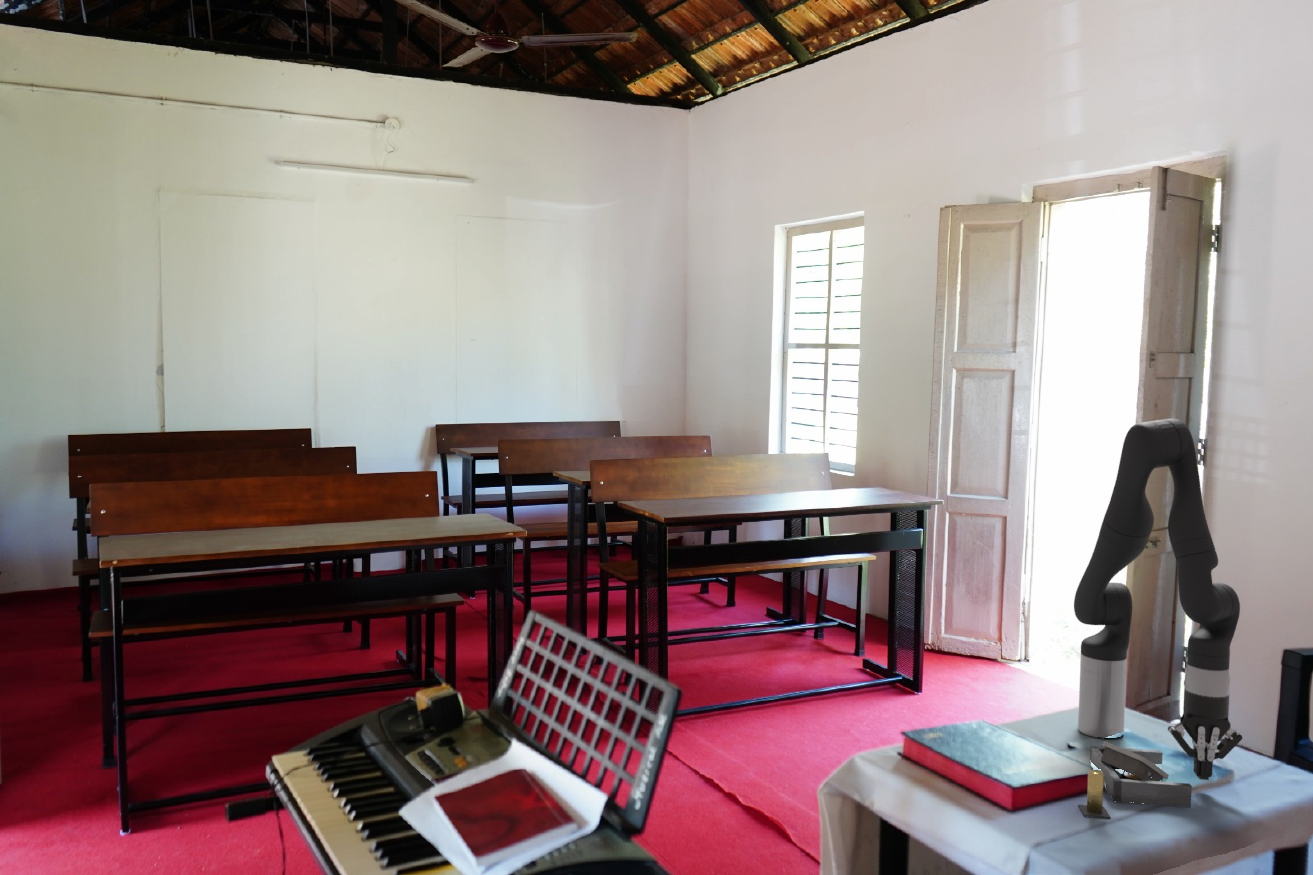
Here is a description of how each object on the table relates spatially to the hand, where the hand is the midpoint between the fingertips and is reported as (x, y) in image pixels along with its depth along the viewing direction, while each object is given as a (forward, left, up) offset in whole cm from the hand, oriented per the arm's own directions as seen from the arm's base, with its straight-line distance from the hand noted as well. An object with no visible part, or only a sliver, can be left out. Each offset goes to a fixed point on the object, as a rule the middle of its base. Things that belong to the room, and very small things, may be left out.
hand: (1202, 778), depth 191 cm
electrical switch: (-2, -10, -2) cm, 10 cm away
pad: (+14, -23, -2) cm, 27 cm away
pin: (+14, -23, -2) cm, 27 cm away
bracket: (0, -11, -2) cm, 11 cm away
